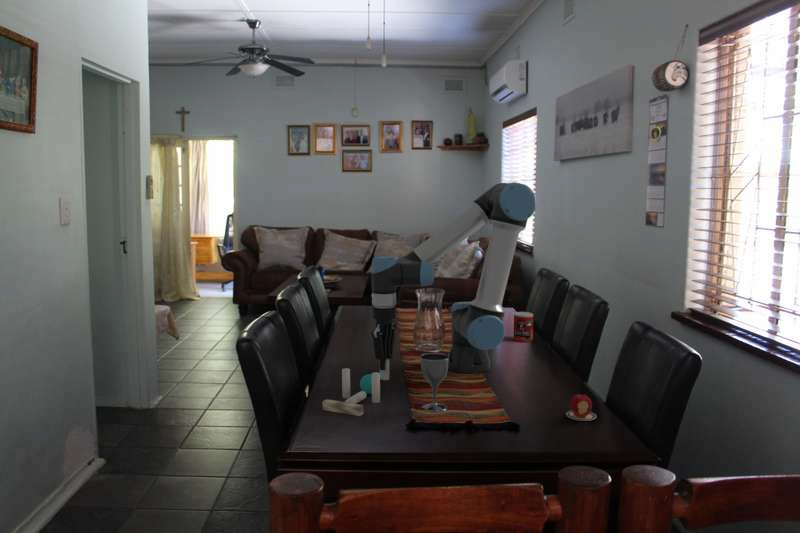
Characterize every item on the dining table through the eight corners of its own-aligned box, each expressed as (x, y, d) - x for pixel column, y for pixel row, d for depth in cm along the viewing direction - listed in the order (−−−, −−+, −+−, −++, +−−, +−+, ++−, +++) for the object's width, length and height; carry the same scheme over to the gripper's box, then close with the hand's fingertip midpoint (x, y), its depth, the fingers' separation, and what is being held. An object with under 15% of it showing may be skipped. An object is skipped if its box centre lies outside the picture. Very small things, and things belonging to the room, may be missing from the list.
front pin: (366, 391, 193) (352, 400, 185) (366, 399, 193) (351, 408, 186) (359, 390, 194) (344, 398, 186) (359, 397, 194) (344, 406, 187)
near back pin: (381, 401, 191) (381, 372, 190) (377, 403, 189) (377, 375, 188) (374, 399, 192) (373, 371, 191) (370, 402, 190) (370, 374, 189)
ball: (372, 390, 192) (378, 398, 197) (378, 372, 195) (384, 381, 200) (354, 387, 195) (361, 395, 199) (360, 369, 198) (367, 378, 202)
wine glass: (440, 414, 180) (440, 361, 178) (415, 409, 184) (415, 357, 182) (453, 406, 187) (453, 355, 185) (429, 401, 191) (429, 351, 189)
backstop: (363, 413, 180) (363, 405, 180) (359, 416, 179) (359, 407, 178) (326, 407, 186) (326, 399, 185) (322, 409, 184) (322, 401, 183)
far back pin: (351, 396, 195) (351, 368, 194) (347, 398, 193) (347, 371, 192) (344, 395, 196) (344, 368, 195) (340, 397, 194) (340, 370, 193)
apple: (602, 418, 177) (603, 395, 176) (582, 424, 172) (583, 400, 171) (579, 410, 183) (580, 387, 182) (559, 415, 179) (560, 392, 178)
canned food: (511, 341, 263) (512, 314, 261) (515, 337, 270) (516, 311, 269) (530, 343, 260) (531, 316, 259) (534, 338, 267) (534, 312, 266)
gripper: (382, 301, 211) (383, 372, 214) (363, 308, 199) (364, 383, 202) (403, 303, 208) (403, 375, 211) (385, 310, 196) (385, 386, 199)
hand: (384, 379), depth 206 cm, fingers closed
